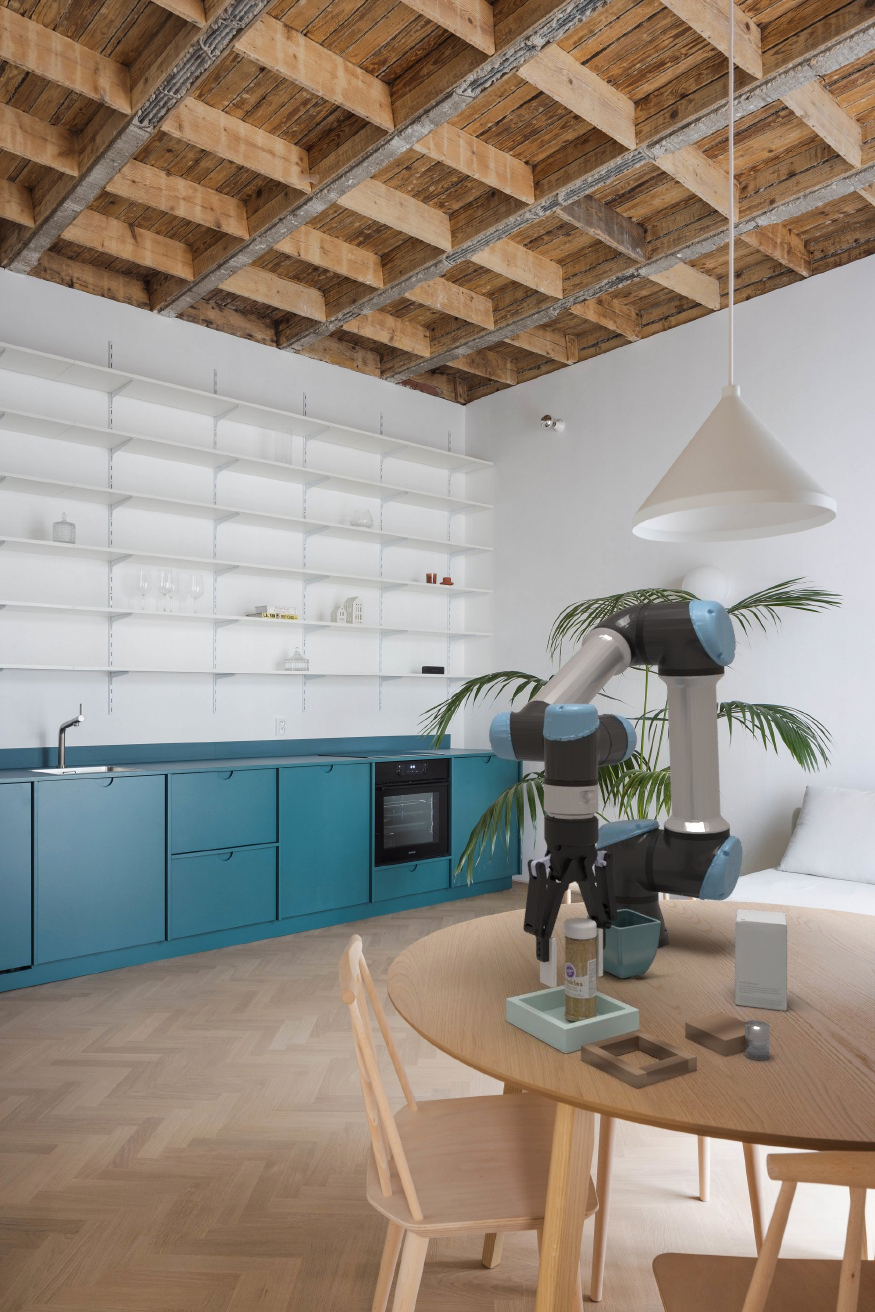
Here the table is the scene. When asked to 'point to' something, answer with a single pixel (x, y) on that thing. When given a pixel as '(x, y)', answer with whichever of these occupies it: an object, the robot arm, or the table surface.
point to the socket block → (669, 1066)
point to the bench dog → (757, 1040)
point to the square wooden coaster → (718, 1033)
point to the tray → (550, 1024)
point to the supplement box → (761, 959)
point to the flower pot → (630, 944)
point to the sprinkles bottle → (580, 969)
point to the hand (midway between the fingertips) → (571, 978)
